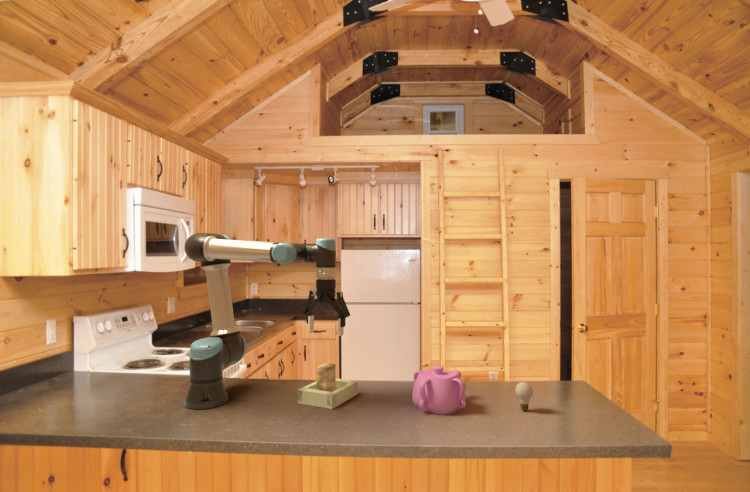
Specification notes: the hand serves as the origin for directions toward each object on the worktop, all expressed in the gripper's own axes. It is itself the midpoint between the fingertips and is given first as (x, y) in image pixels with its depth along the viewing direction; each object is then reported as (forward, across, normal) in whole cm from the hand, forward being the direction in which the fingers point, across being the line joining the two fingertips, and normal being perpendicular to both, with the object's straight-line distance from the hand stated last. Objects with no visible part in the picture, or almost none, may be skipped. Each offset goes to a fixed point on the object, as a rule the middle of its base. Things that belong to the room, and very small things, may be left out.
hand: (325, 334), depth 170 cm
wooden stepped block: (+24, 0, +2) cm, 24 cm away
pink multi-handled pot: (+25, +42, +13) cm, 50 cm away
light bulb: (+24, +70, +20) cm, 77 cm away
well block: (+25, 0, +2) cm, 25 cm away
